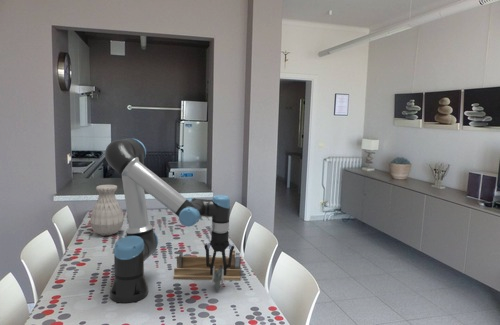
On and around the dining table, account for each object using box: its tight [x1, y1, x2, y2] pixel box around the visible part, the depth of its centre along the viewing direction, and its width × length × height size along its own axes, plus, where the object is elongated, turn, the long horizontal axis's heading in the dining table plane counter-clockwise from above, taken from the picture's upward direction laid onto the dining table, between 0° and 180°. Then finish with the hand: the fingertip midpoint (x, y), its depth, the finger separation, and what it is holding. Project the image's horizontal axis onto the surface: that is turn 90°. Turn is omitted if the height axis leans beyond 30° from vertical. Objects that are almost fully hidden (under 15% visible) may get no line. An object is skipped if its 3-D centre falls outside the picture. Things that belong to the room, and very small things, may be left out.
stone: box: [213, 265, 222, 292], centre depth 166 cm, size 11×4×10 cm, turn 175°
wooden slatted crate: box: [173, 250, 242, 281], centre depth 180 cm, size 12×31×11 cm, turn 91°
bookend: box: [178, 250, 184, 268], centre depth 179 cm, size 5×3×9 cm, turn 1°
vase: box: [89, 184, 125, 236], centre depth 236 cm, size 20×20×30 cm
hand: (217, 281), depth 167 cm, fingers closed on stone, 3 cm apart
